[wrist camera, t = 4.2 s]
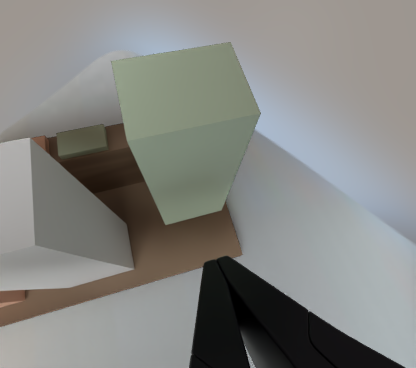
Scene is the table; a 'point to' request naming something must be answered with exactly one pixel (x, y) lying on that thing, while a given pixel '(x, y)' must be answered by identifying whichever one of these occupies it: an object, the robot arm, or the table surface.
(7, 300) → the salmon brown block
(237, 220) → the table surface
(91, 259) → the light grey tall block
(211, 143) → the sage key
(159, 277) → the keypad base
